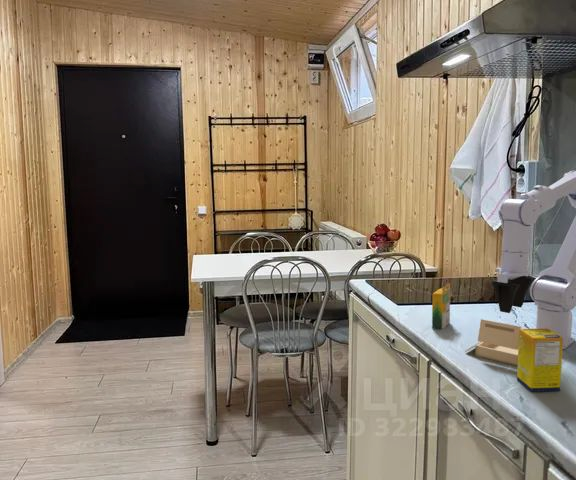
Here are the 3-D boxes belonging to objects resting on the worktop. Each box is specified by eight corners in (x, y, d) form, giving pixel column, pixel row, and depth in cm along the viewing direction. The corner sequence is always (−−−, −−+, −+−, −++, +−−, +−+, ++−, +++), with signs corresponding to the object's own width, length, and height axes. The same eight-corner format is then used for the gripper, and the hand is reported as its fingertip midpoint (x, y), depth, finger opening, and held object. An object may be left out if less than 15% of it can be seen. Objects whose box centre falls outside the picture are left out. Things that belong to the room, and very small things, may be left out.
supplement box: (544, 379, 104) (547, 327, 102) (560, 391, 98) (564, 337, 96) (515, 379, 104) (518, 328, 102) (530, 392, 98) (533, 337, 96)
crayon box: (439, 321, 144) (440, 281, 143) (449, 322, 143) (451, 282, 141) (431, 328, 138) (432, 286, 137) (442, 329, 137) (443, 287, 135)
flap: (482, 319, 116) (480, 319, 116) (521, 326, 111) (519, 326, 110) (479, 341, 116) (477, 340, 116) (517, 349, 110) (516, 349, 110)
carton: (489, 338, 129) (490, 328, 129) (554, 352, 119) (554, 341, 118) (464, 353, 119) (464, 343, 118) (532, 370, 108) (533, 358, 108)
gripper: (508, 246, 124) (504, 301, 126) (485, 252, 113) (481, 311, 115) (539, 250, 119) (535, 306, 121) (518, 255, 109) (513, 317, 110)
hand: (511, 309), depth 118 cm, fingers open, 7 cm apart
